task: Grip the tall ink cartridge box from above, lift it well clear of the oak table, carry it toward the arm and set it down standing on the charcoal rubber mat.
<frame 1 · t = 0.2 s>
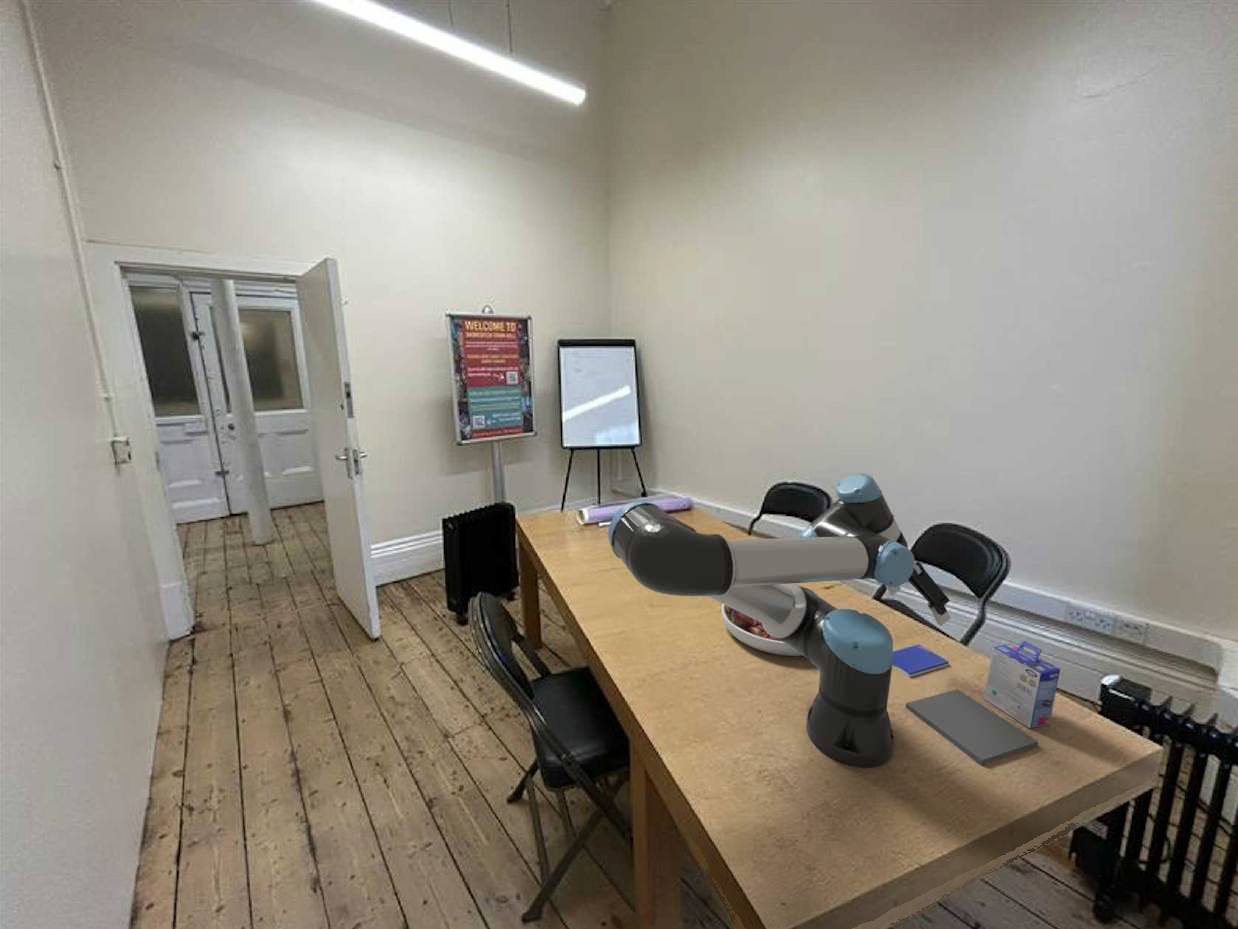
hand: (918, 605, 115), 16 cm above the table, tool tilted 35°, fingers open, 13 cm apart
bowl: (778, 630, 136), on the table
blue book: (913, 664, 121), on the table
rubber mat: (967, 725, 100), on the table
ink cartridge box: (1015, 712, 103), on the table
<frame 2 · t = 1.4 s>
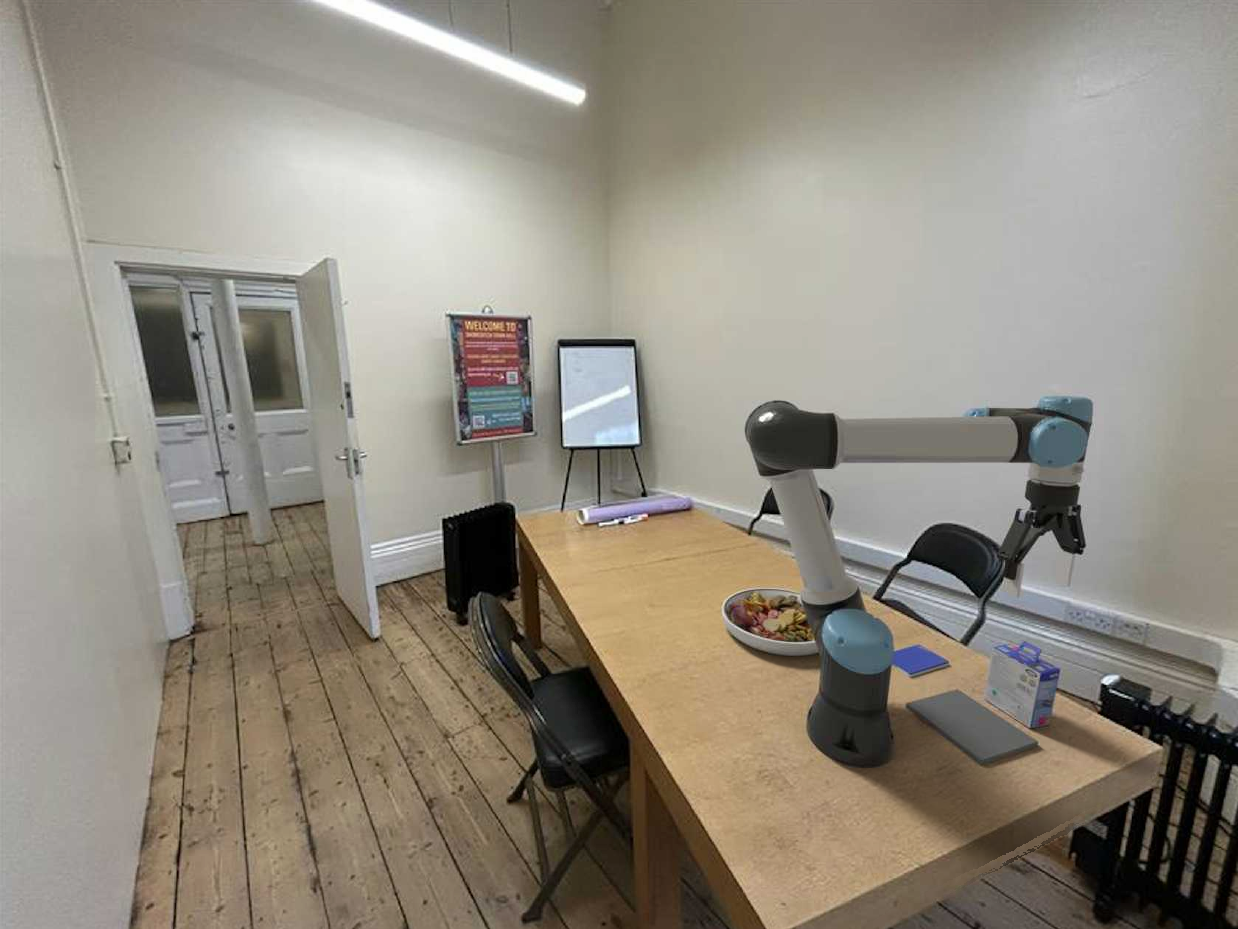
hand: (1036, 589, 98), 27 cm above the table, tool pointing down, fingers open, 13 cm apart
nothing on the table moved.
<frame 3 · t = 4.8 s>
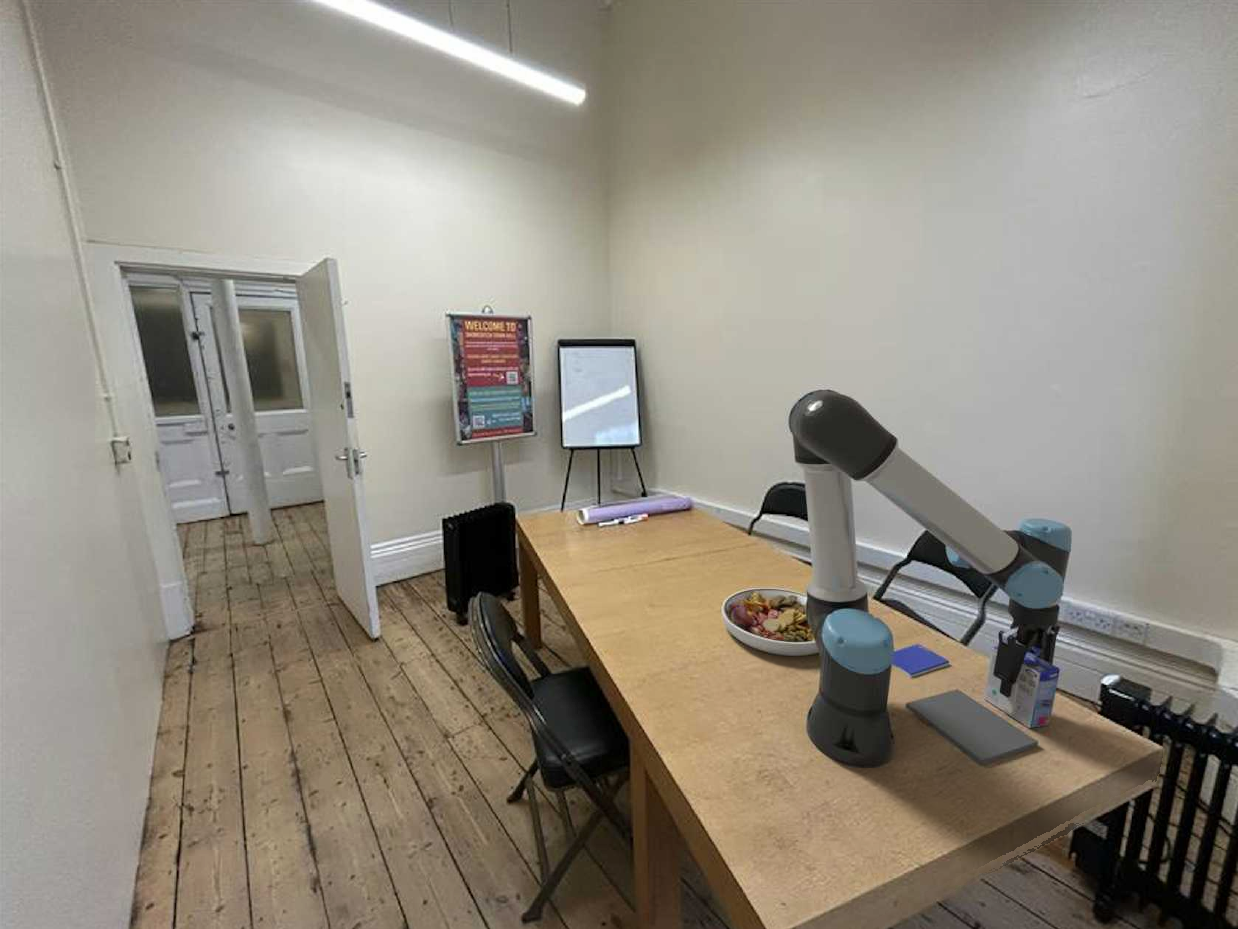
hand: (1017, 705, 103), 1 cm above the table, tool pointing down, fingers closed on ink cartridge box, 5 cm apart
ink cartridge box: (1015, 712, 103), on the table, touching gripper
everything else where it was.
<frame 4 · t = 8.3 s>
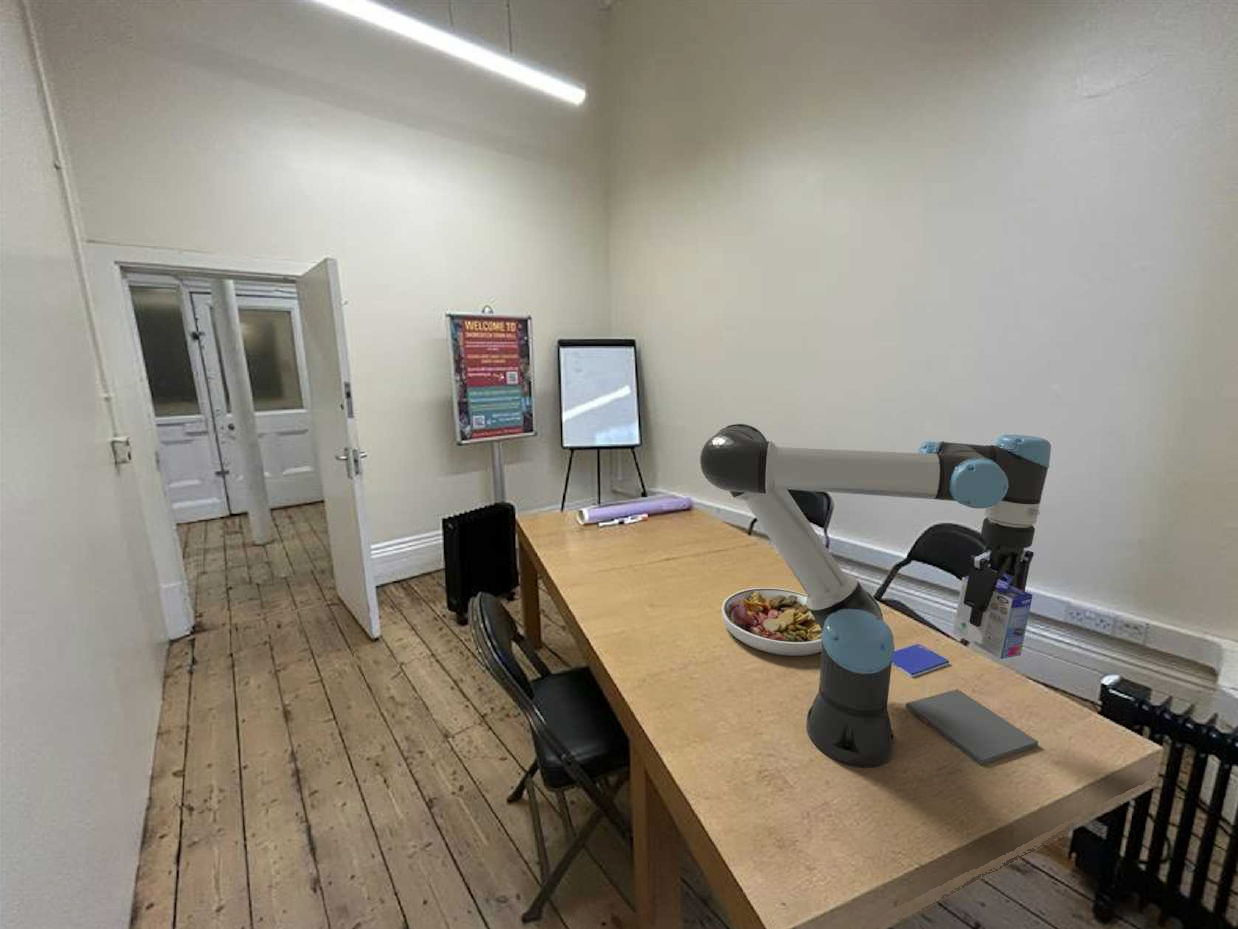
hand: (986, 637, 97), 18 cm above the table, tool pointing down, fingers closed on ink cartridge box, 5 cm apart
ink cartridge box: (985, 644, 98), point 17 cm above the table, touching gripper
everything else where it was.
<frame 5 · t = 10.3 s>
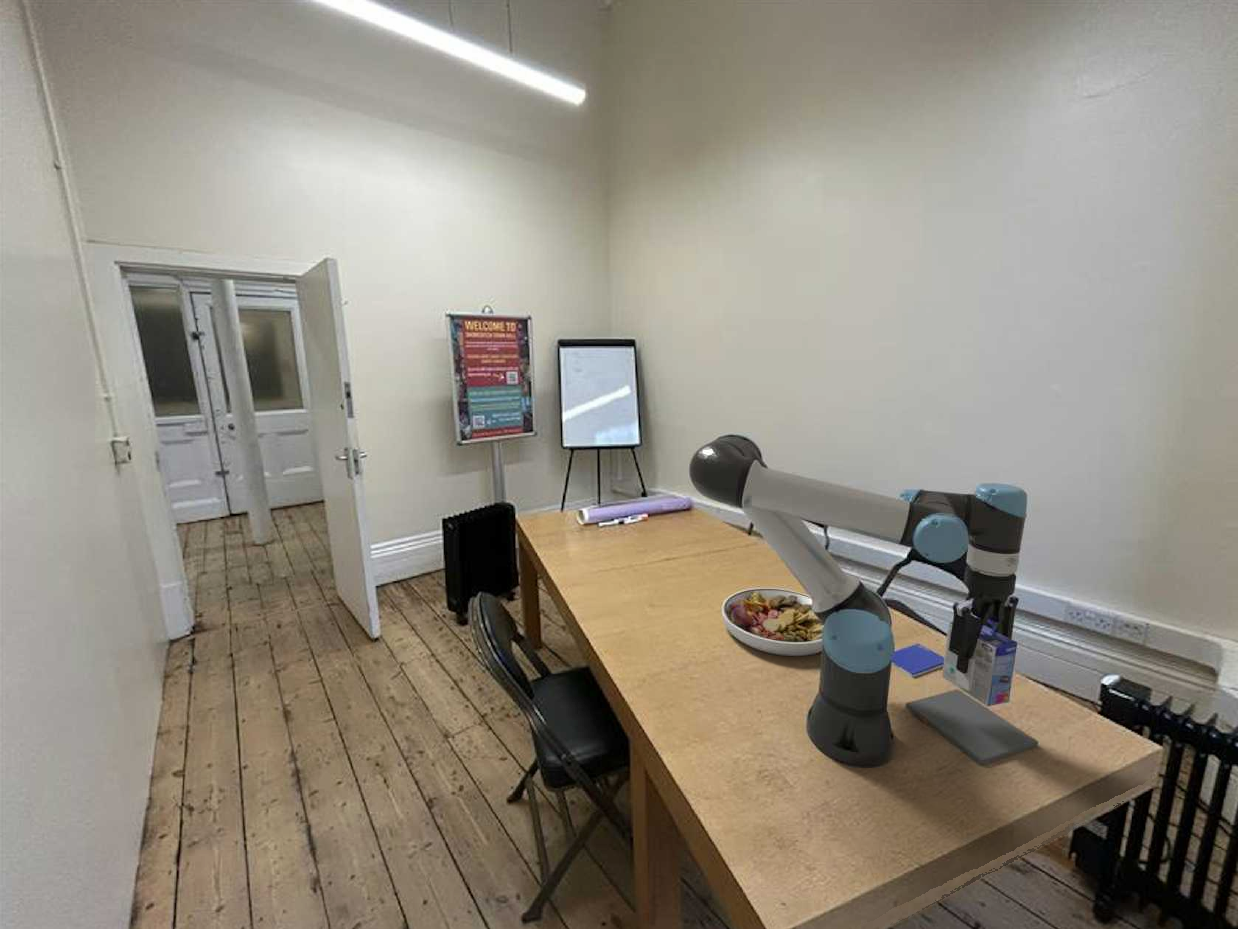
hand: (975, 682, 98), 9 cm above the table, tool pointing down, fingers closed on ink cartridge box, 5 cm apart
ink cartridge box: (974, 690, 98), point 8 cm above the table, touching gripper
everything else where it was.
when the fingers open (4 cm above the table, at t = 12.1 s): ink cartridge box drops 1 cm, resting on rubber mat.
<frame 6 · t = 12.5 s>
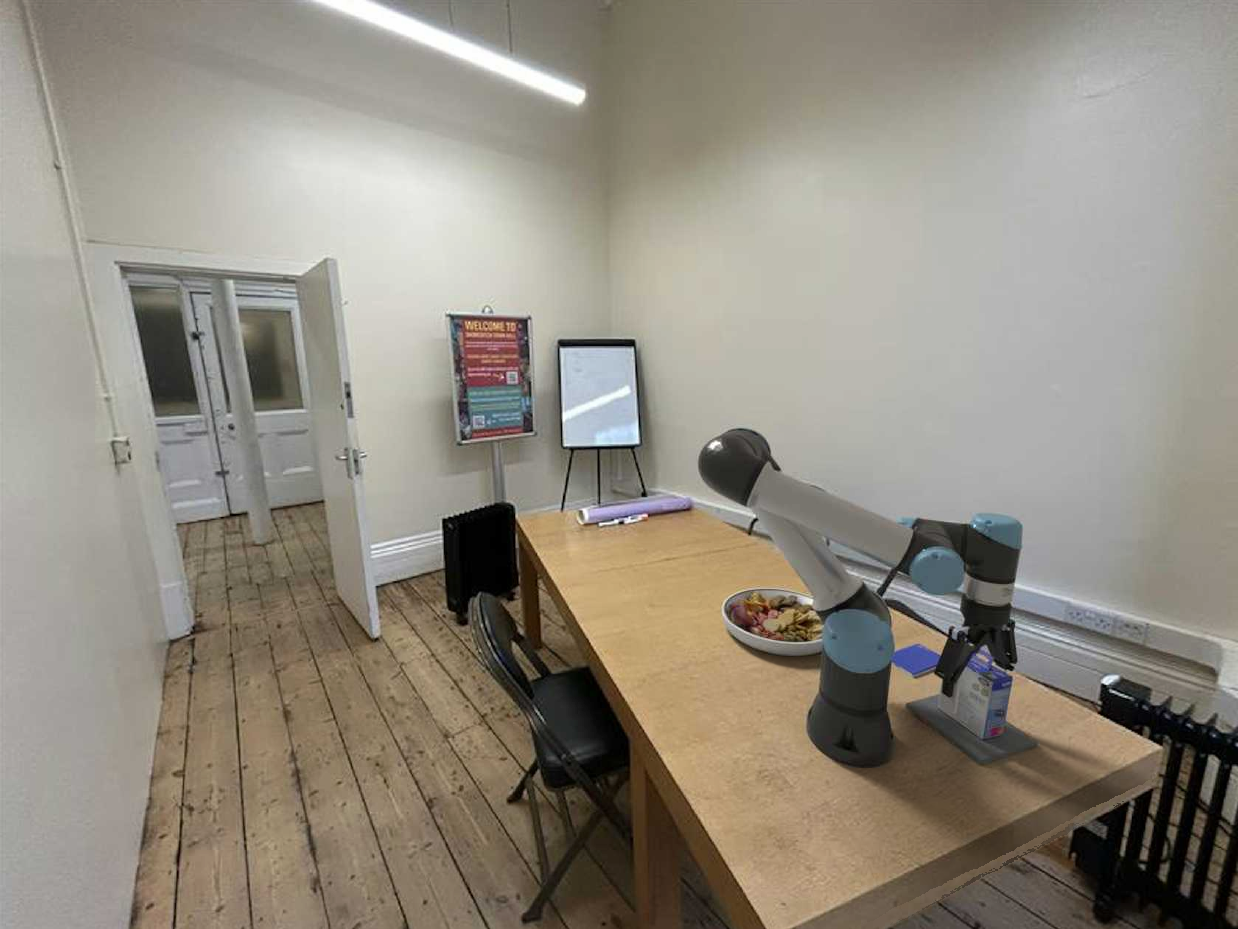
hand: (971, 703, 99), 5 cm above the table, tool pointing down, fingers open, 11 cm apart
ink cartridge box: (969, 722, 99), point 1 cm above the table, touching rubber mat
everything else where it was.
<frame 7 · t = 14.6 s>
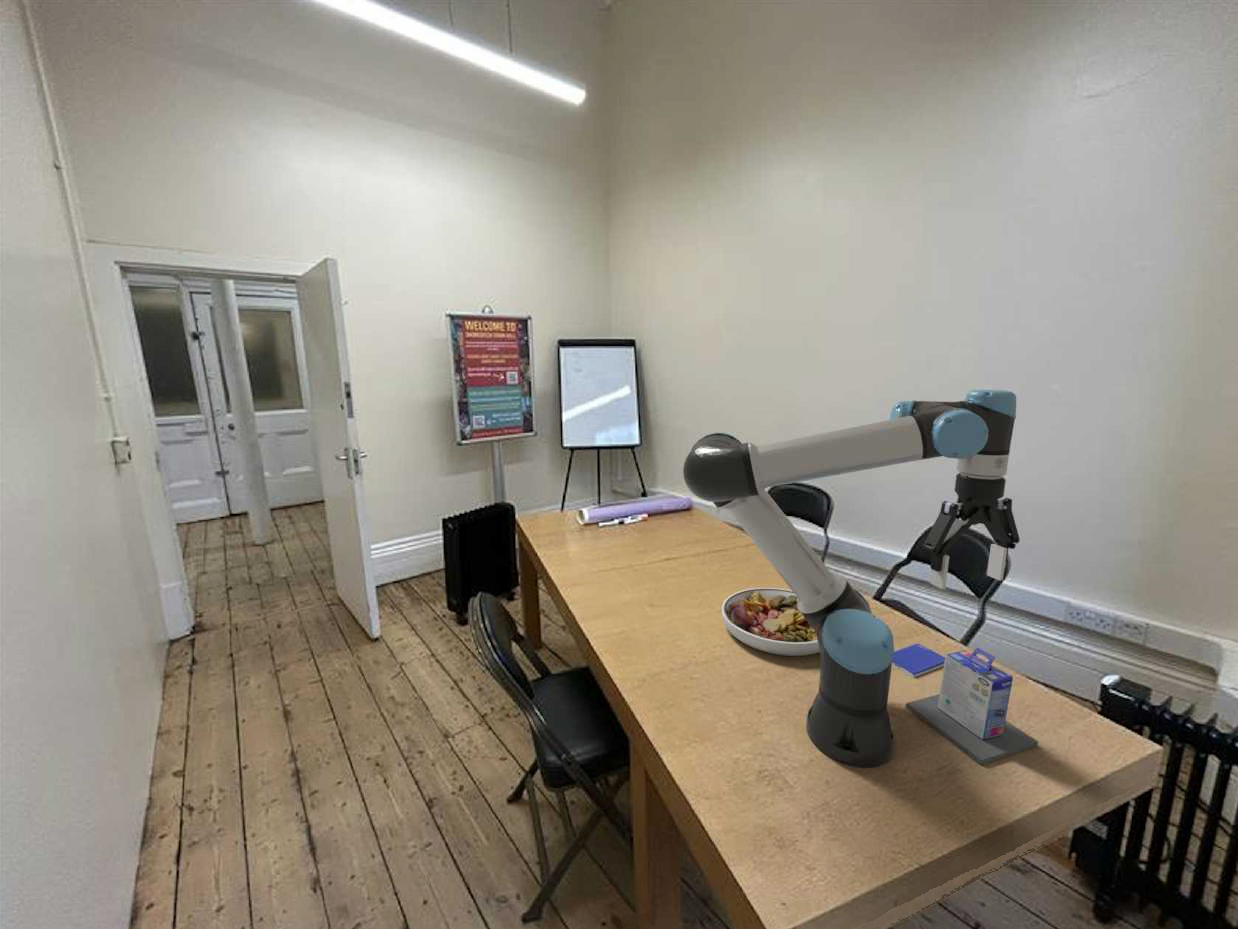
hand: (966, 582, 99), 28 cm above the table, tool pointing down, fingers open, 13 cm apart
nothing on the table moved.
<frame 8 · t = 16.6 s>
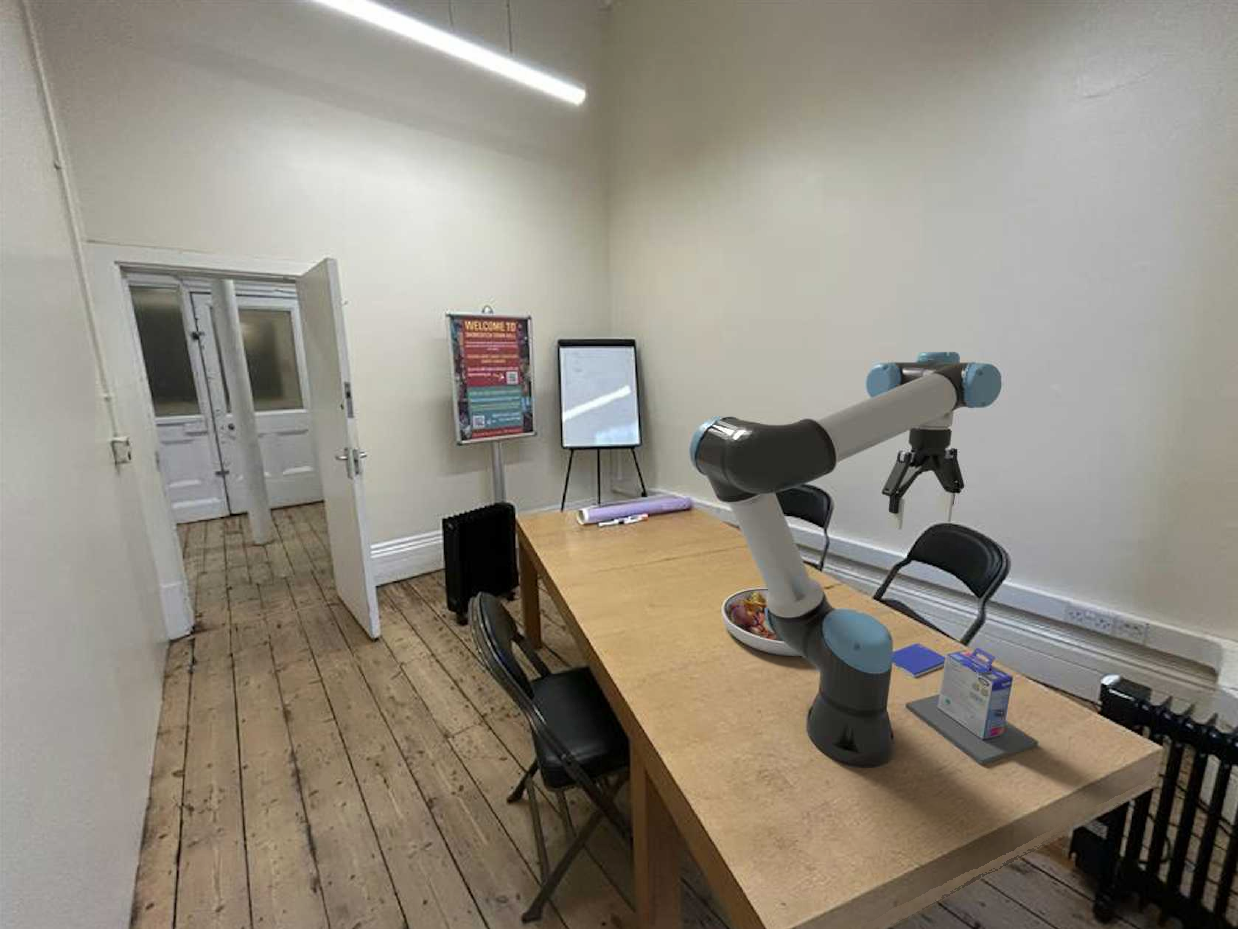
hand: (919, 524, 111), 35 cm above the table, tool pointing down, fingers open, 13 cm apart
nothing on the table moved.
at the end: ink cartridge box inside the target area on the rubber mat (0.3 cm from its centre), point 0.8 cm above the rubber mat's base; ink cartridge box tilted 0°; the gripper is holding nothing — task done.
